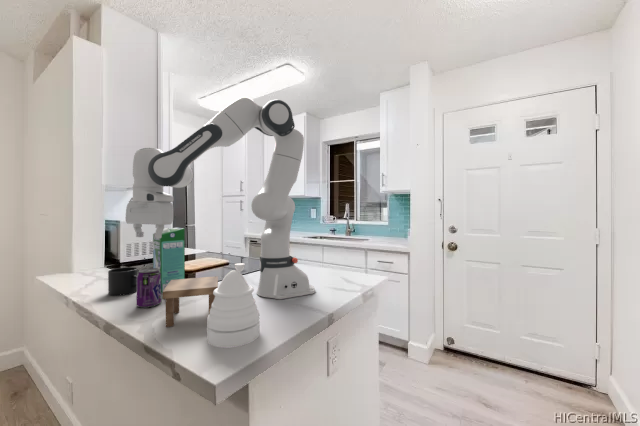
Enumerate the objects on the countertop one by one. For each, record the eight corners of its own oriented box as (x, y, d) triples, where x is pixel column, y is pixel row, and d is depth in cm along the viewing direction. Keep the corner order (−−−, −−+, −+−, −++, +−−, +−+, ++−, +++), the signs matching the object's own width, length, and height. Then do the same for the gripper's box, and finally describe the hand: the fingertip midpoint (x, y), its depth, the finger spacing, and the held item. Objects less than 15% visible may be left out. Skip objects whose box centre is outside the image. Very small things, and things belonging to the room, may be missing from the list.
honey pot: (237, 321, 81) (237, 259, 81) (270, 332, 74) (269, 264, 74) (196, 338, 70) (195, 266, 70) (229, 353, 63) (228, 273, 63)
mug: (128, 297, 104) (128, 272, 104) (102, 295, 107) (101, 271, 107) (148, 290, 114) (148, 267, 114) (123, 288, 116) (123, 266, 116)
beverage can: (149, 309, 91) (149, 272, 91) (131, 308, 93) (131, 271, 93) (166, 302, 98) (165, 268, 98) (148, 301, 100) (148, 267, 100)
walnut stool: (218, 306, 94) (217, 276, 94) (217, 321, 81) (217, 286, 81) (171, 311, 90) (171, 279, 90) (162, 328, 76) (162, 291, 76)
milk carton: (153, 289, 115) (152, 228, 115) (176, 284, 122) (176, 227, 122) (160, 293, 109) (160, 228, 109) (185, 288, 116) (184, 227, 115)
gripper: (120, 197, 97) (120, 237, 97) (159, 195, 88) (159, 240, 88) (138, 197, 102) (138, 235, 103) (177, 196, 94) (177, 238, 94)
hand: (148, 237), depth 95 cm, fingers open, 8 cm apart
